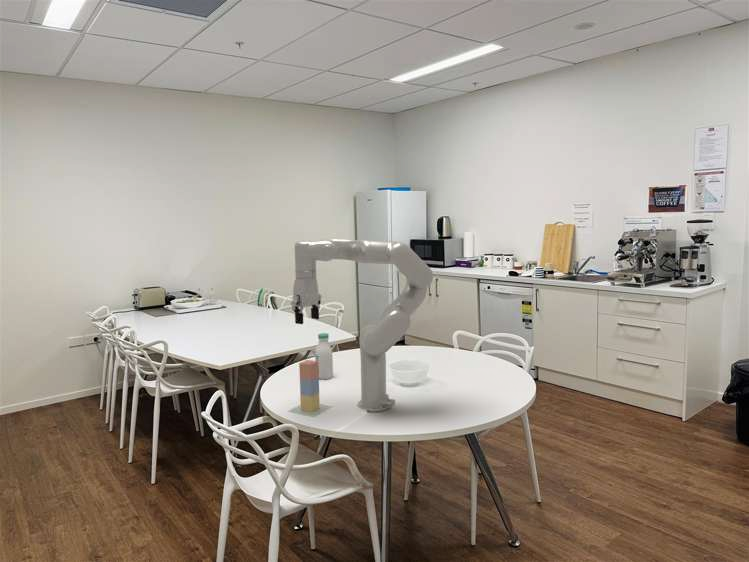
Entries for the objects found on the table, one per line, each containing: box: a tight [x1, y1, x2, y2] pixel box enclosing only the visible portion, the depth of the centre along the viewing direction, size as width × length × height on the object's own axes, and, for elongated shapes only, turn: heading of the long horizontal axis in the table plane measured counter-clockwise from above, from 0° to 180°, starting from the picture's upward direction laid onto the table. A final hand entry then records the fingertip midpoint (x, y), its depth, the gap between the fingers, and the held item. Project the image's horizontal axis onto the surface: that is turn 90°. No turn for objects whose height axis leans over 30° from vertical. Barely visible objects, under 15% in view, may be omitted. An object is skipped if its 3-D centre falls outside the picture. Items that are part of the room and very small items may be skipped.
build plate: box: [287, 403, 333, 418], centre depth 205 cm, size 12×12×1 cm
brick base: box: [299, 392, 320, 412], centre depth 204 cm, size 5×5×6 cm
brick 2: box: [299, 377, 320, 396], centre depth 203 cm, size 5×5×6 cm
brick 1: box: [298, 359, 319, 381], centre depth 203 cm, size 5×5×6 cm
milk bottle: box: [314, 332, 334, 380], centre depth 245 cm, size 8×8×20 cm
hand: (307, 321), depth 200 cm, fingers open, 9 cm apart
